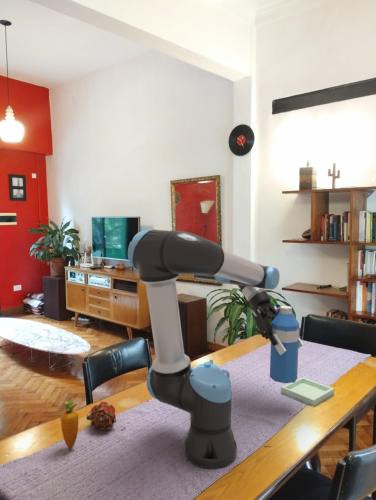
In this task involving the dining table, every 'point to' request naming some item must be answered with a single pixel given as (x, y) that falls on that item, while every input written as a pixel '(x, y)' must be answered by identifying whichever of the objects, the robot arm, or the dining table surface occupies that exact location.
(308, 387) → the tray
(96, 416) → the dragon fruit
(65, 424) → the carrot
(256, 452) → the dining table surface
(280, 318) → the water bottle
